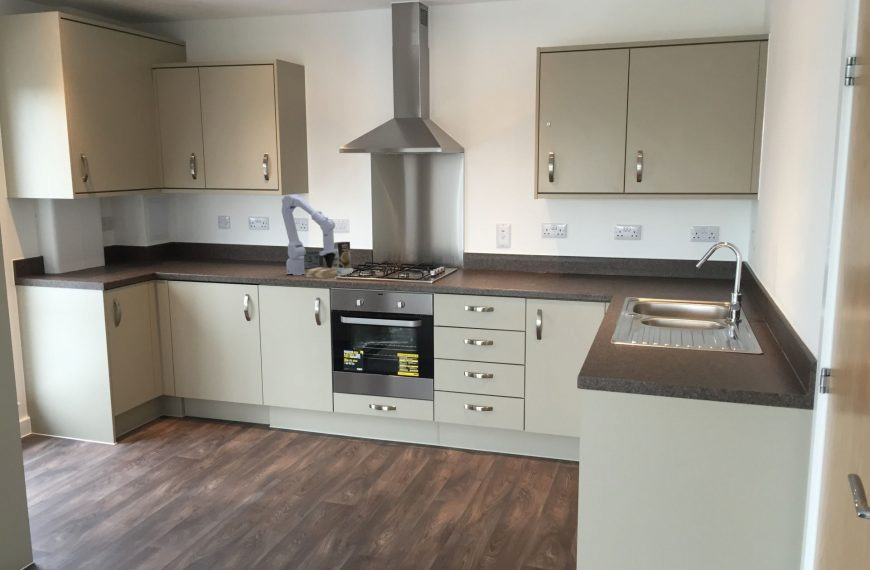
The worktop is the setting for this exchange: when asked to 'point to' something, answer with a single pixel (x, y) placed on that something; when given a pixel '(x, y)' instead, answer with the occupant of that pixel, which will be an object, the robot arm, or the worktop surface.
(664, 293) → the worktop surface
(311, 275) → the tan flat block
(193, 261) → the worktop surface
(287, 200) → the robot arm
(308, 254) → the small box
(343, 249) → the coffee box
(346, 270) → the tray
